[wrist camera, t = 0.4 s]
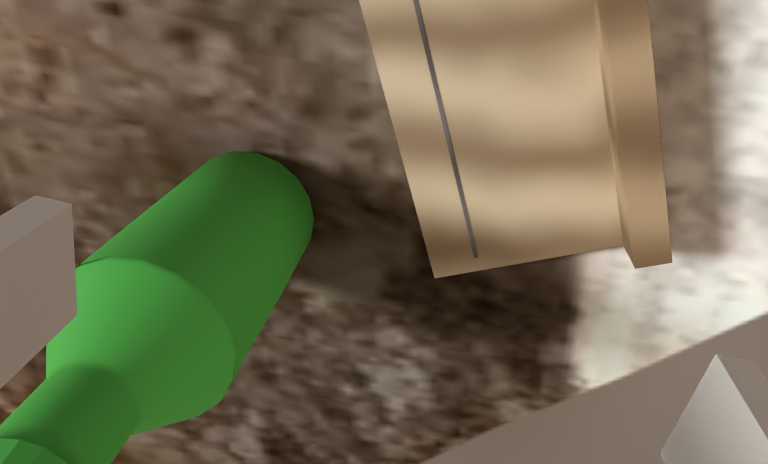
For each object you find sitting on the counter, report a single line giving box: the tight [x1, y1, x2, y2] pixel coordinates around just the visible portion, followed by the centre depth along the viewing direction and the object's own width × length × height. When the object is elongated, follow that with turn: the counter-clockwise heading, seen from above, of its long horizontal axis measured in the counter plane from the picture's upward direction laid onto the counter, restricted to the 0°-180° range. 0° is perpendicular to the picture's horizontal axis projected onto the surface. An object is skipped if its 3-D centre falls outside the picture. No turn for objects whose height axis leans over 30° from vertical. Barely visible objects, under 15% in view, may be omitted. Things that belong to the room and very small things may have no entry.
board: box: [359, 0, 672, 278], centre depth 32 cm, size 30×14×4 cm, turn 16°
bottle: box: [0, 151, 314, 464], centre depth 30 cm, size 9×9×25 cm
